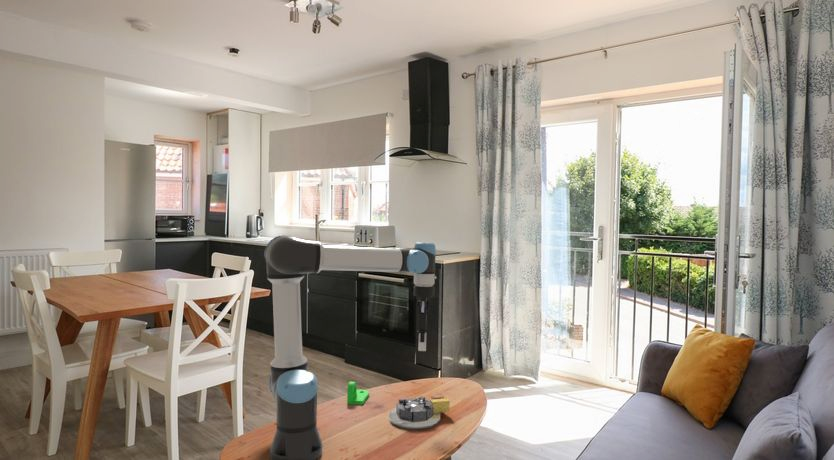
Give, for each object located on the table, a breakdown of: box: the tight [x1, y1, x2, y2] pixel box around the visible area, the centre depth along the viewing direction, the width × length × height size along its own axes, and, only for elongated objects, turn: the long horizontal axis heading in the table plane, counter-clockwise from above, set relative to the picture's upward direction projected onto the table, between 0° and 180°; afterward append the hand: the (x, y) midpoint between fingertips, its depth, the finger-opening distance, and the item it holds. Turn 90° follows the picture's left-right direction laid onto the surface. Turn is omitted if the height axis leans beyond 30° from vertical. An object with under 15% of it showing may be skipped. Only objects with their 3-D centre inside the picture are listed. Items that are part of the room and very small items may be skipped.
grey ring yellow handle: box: [395, 396, 450, 421], centre depth 171 cm, size 19×12×4 cm, turn 106°
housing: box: [388, 393, 445, 431], centre depth 171 cm, size 21×18×6 cm
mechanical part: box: [346, 381, 370, 406], centre depth 189 cm, size 12×6×8 cm, turn 171°
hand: (422, 350), depth 175 cm, fingers closed
